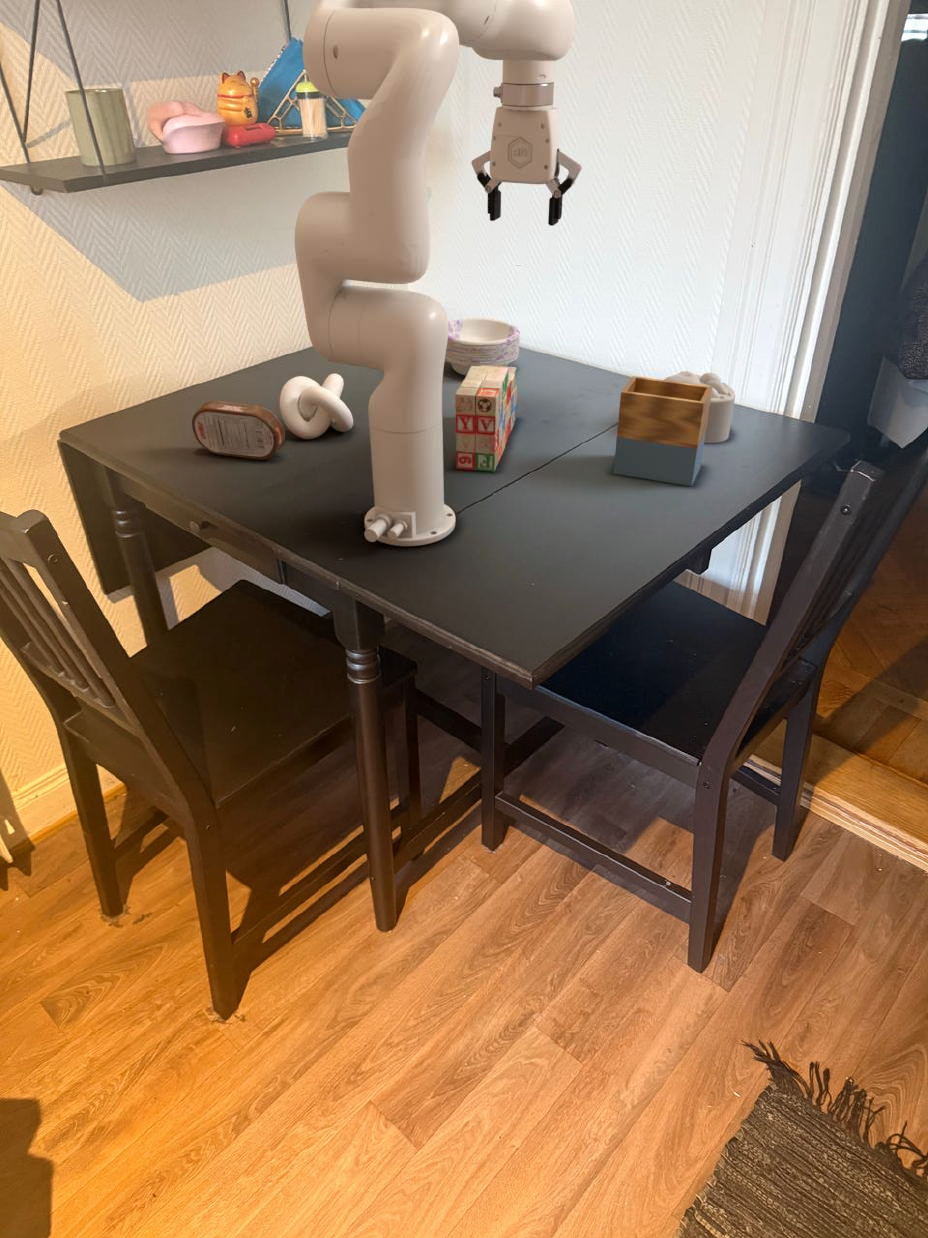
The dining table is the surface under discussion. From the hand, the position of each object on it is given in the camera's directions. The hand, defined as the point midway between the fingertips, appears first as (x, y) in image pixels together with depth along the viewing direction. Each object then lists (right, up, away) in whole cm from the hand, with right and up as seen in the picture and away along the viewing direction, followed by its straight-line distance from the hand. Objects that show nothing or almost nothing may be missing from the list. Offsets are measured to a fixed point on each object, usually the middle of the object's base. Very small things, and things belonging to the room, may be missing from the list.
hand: (524, 221), depth 145 cm
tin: (-45, -36, +3) cm, 58 cm away
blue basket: (+20, -39, -3) cm, 45 cm away
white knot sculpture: (-33, -30, +11) cm, 47 cm away
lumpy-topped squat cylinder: (+29, -31, +11) cm, 44 cm away
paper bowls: (-6, -14, +35) cm, 38 cm away
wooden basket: (+20, -34, -6) cm, 41 cm away
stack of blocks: (-6, -34, +6) cm, 35 cm away
